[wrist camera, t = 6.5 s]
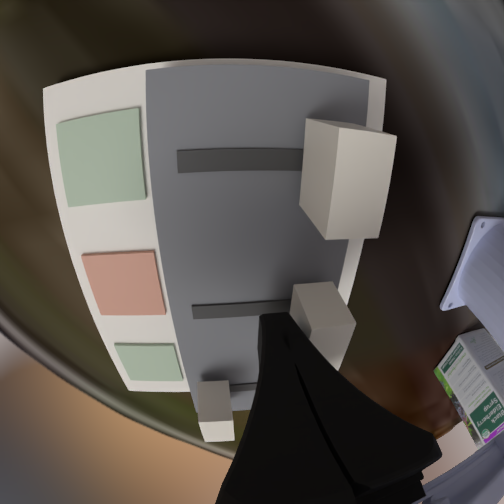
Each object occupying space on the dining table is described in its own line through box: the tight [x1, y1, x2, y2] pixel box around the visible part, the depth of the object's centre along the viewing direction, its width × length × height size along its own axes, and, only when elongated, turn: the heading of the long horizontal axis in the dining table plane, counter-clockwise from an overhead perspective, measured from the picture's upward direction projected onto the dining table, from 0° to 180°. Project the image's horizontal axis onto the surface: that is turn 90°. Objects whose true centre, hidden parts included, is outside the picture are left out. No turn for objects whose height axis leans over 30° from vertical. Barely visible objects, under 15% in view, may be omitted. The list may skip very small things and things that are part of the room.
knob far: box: [197, 380, 234, 442], centre depth 13 cm, size 2×3×2 cm, turn 179°
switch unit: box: [43, 59, 386, 413], centre depth 13 cm, size 14×19×3 cm
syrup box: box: [434, 328, 504, 450], centre depth 18 cm, size 6×6×14 cm
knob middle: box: [290, 281, 356, 371], centre depth 10 cm, size 2×3×2 cm, turn 179°
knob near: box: [299, 118, 397, 240], centre depth 7 cm, size 2×3×2 cm, turn 179°
